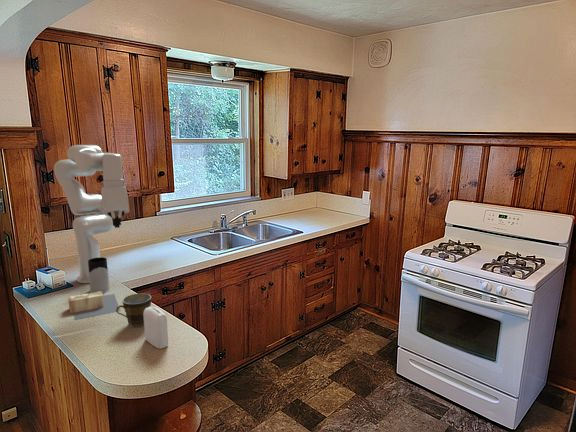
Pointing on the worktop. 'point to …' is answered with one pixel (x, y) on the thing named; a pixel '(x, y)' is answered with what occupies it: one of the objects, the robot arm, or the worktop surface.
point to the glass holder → (98, 275)
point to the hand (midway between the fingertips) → (117, 227)
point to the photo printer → (155, 327)
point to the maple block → (85, 302)
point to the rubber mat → (109, 307)
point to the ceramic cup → (135, 308)
